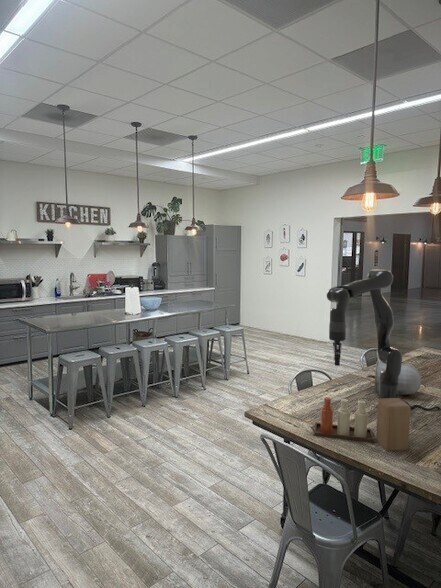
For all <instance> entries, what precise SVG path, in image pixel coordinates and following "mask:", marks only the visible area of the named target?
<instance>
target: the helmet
mask: <svg viewBox="0 0 441 588" xmlns="http://www.w3.org/2000/svg"><path fill="white" fill-rule="evenodd" d="M386 365H387V364H385V363H383V362H381V361H380V360H377V361H376V363H375V369H374V374H373V375H372V374H368V375H366V377H365V379H366V380H367V381H368V382H371V383H373V384H374V394H376V395H379V384H380V372H381V371H382V370H386ZM371 379H373V380H374V381H373V380H371ZM421 385H422V376H421V372H420V371H419V370H418V369H417V368H416V367H415V366H414V365H413V364H409V363H402V366H401V373H400V375H399V382H398V394H399V395H404V396H406V395H413V394H415V393H417V392H418V391H419V390H420V388H421Z"/></svg>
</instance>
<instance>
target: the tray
mask: <svg viewBox="0 0 441 588" xmlns="http://www.w3.org/2000/svg"><path fill="white" fill-rule="evenodd" d="M320 425H321V422H314V432H313V436H315V437H322V438H330V439H331V438H332V439H339V440H347V441H353V442H360V443H370V444H371V443H372V444H374V443H375V437H374V434H373V429H372V428H367V437H366V438H362V437H355V436H354V426H350V430H349V436H346V435H338V434H337V424H333V427H332V434H330V433H321V432H320Z"/></svg>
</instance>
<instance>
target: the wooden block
mask: <svg viewBox="0 0 441 588" xmlns="http://www.w3.org/2000/svg"><path fill="white" fill-rule="evenodd" d="M404 401H405V400H402V398H401V399H399V398H381V399H379V398H378V399H377V415H376V432H375V433H376V434H375V440H376V442H377V443H378V444H379V445H380V446H381V447H382V448H383V449H384V450H385V451H386V452H396V451H397V452H399V451H408V450H409V440H410V439H409V437H410V426H411V425H410V424H411V423H410V422H411V409H412V408H410V406H411V405H410V406H409V405H408V404H406V403H405V402H406V401H405V402H404Z"/></svg>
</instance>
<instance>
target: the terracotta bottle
mask: <svg viewBox="0 0 441 588" xmlns="http://www.w3.org/2000/svg"><path fill="white" fill-rule="evenodd" d="M331 404H332V398H331V397H329V396H324V398H323V405H322V407H320V423H321V425H320V432H321V433H330V434H332V427H333V425H334V421H333V420H334V408H333V407H332V405H331Z"/></svg>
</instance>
